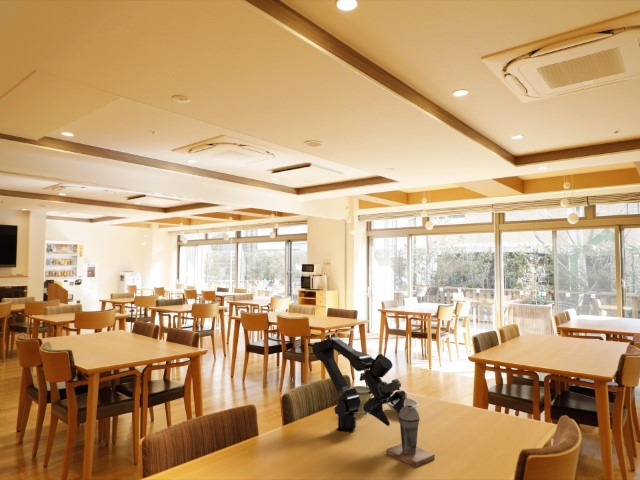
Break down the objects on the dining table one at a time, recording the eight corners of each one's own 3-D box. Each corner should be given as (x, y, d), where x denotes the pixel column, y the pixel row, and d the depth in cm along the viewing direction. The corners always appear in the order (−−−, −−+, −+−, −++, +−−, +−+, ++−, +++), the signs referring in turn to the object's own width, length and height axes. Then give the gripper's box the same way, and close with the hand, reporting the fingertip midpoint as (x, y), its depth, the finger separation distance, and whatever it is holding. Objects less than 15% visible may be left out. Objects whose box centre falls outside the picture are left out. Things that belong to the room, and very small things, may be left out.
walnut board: (386, 453, 151) (386, 449, 151) (404, 446, 157) (404, 442, 157) (416, 467, 141) (416, 462, 141) (434, 458, 147) (434, 454, 147)
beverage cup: (423, 455, 146) (422, 395, 147) (402, 457, 145) (402, 396, 146) (415, 447, 153) (414, 389, 155) (395, 448, 152) (395, 390, 153)
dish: (426, 417, 189) (426, 405, 189) (398, 421, 183) (398, 409, 184) (403, 405, 205) (403, 394, 206) (377, 408, 200) (377, 397, 200)
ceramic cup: (356, 416, 189) (356, 393, 190) (345, 409, 198) (345, 387, 199) (380, 411, 195) (381, 389, 196) (368, 405, 204) (368, 384, 205)
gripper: (369, 375, 153) (392, 416, 144) (403, 368, 165) (426, 405, 156) (353, 393, 159) (375, 432, 150) (387, 384, 171) (409, 421, 161)
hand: (397, 422), depth 154 cm, fingers open, 9 cm apart
